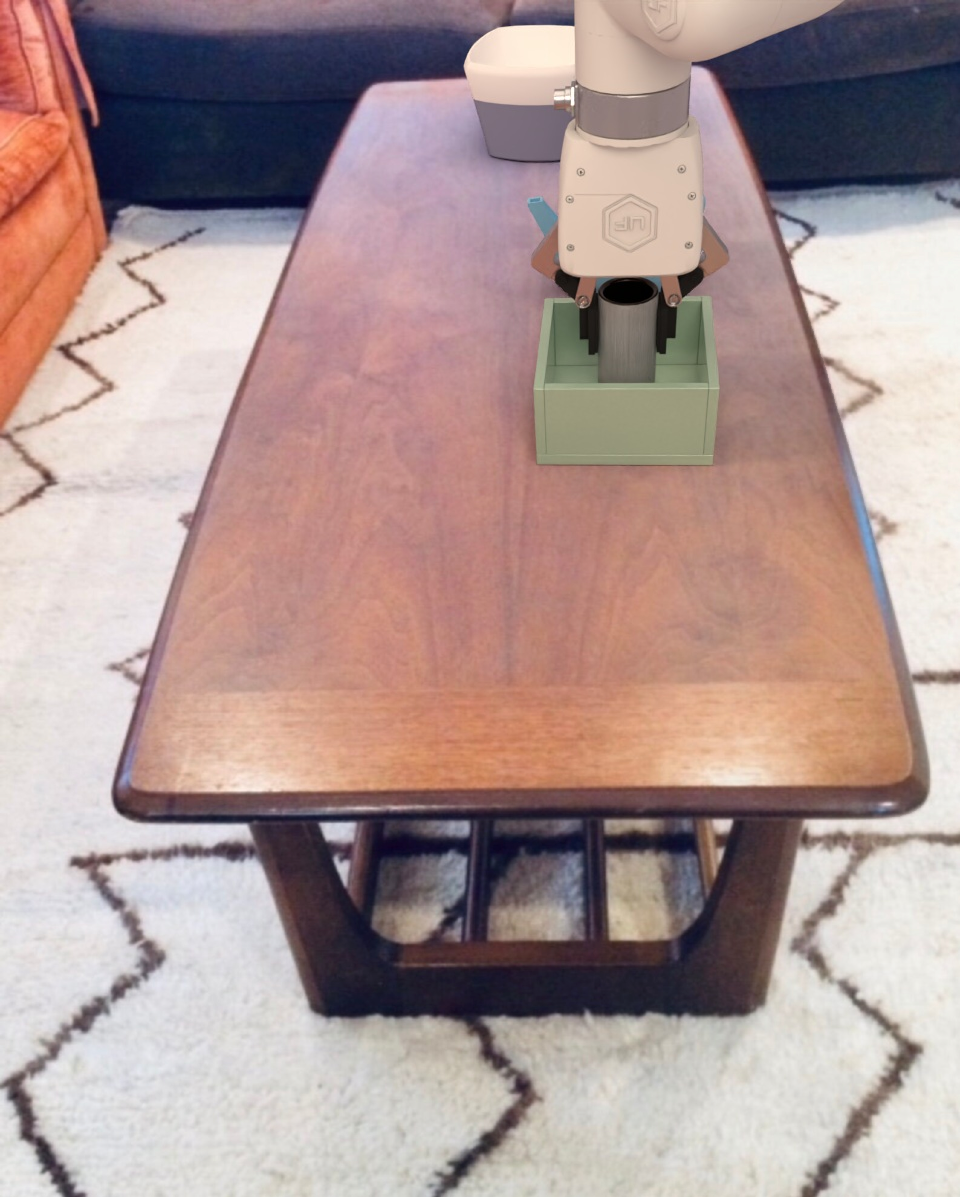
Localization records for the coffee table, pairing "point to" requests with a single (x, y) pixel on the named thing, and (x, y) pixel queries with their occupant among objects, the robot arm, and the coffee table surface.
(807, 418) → the coffee table surface
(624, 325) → the grey hollow cylinder
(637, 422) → the green open box
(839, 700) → the coffee table surface
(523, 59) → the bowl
